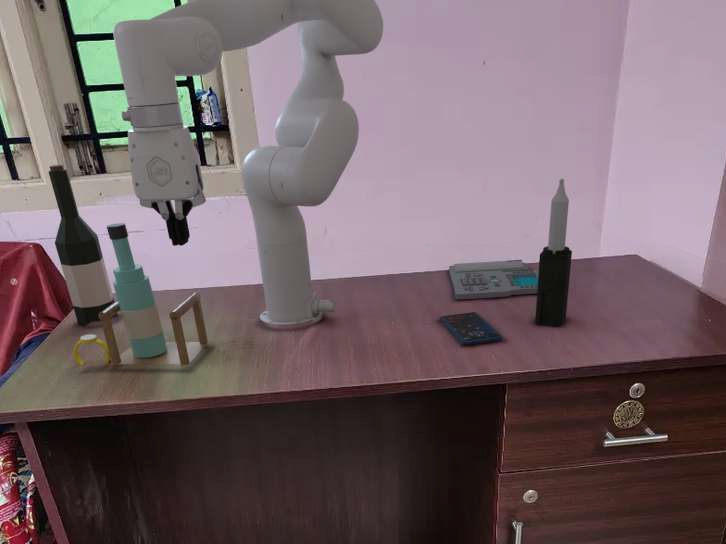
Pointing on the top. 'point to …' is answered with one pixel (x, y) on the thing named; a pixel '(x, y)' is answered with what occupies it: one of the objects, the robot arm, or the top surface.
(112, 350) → the caddy
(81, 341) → the watch
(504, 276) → the office telephone
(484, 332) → the smartphone
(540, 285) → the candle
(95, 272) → the wine bottle
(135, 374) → the top surface
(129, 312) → the bottle
